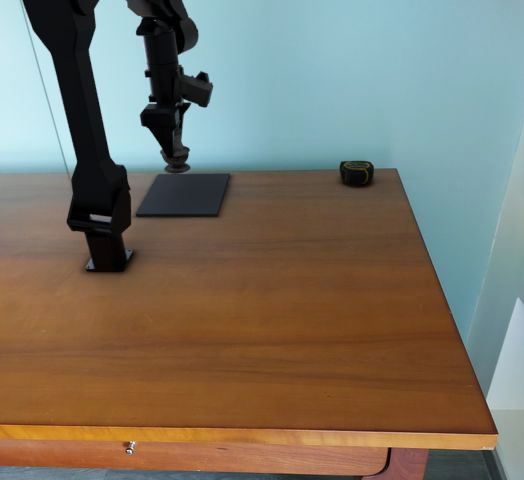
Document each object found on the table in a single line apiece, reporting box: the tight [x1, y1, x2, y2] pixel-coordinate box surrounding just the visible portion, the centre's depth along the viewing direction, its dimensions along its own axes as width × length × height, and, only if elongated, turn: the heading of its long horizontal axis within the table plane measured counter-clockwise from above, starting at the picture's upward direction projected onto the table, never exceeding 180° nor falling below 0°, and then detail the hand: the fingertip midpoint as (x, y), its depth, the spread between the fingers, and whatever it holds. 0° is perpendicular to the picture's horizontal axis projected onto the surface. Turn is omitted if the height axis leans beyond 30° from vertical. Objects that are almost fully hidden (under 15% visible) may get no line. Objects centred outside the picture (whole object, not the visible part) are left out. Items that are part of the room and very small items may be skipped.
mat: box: [135, 172, 231, 218], centre depth 109 cm, size 20×16×1 cm
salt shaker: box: [159, 125, 191, 174], centre depth 102 cm, size 6×6×12 cm
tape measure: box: [338, 160, 375, 185], centre depth 110 cm, size 7×7×4 cm
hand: (174, 150), depth 103 cm, fingers closed on salt shaker, 7 cm apart
